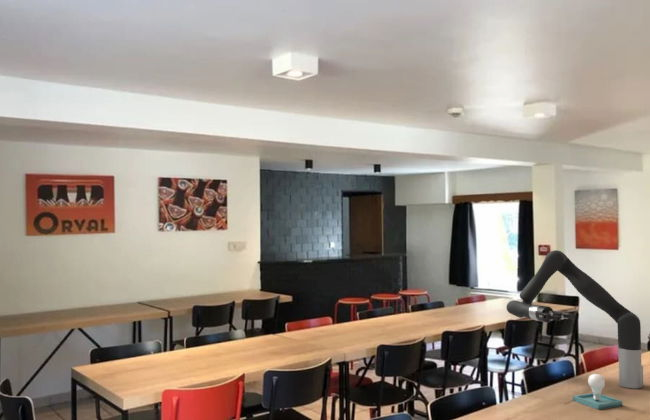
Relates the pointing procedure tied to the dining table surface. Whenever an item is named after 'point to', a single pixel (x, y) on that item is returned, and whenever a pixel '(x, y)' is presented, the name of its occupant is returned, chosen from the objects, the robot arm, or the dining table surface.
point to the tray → (601, 404)
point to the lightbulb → (596, 385)
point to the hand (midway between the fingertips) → (567, 318)
